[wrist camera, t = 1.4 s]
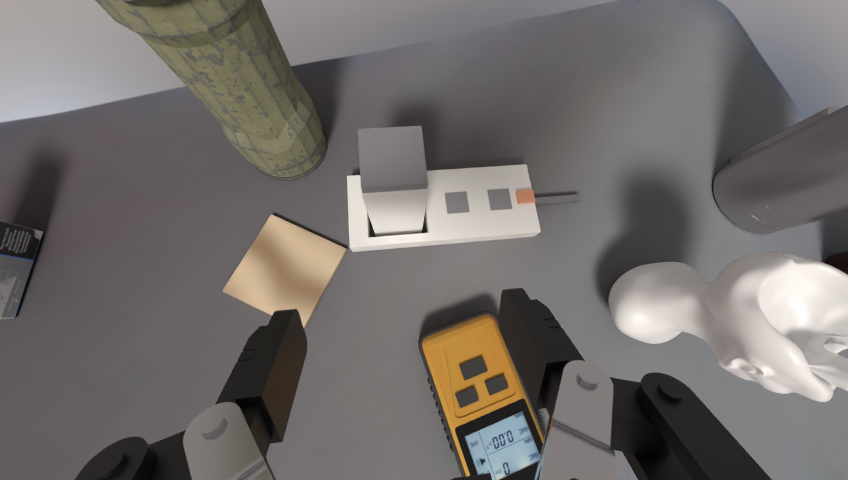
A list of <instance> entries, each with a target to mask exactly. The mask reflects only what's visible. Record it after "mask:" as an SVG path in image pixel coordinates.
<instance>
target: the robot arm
mask: <svg viewBox="0 0 848 480" xmlns="http://www.w3.org/2000/svg"><path fill="white" fill-rule="evenodd" d="M713 192H714V196H715V200H716V202H717V204H718V206H719V208H720V209H721V210H722V212H723V213H724V214H725V215H726V217H727V218H728V219H729V220H730V221H732V222H733V223H735V224H736V225H737V226H739V227H741V228H743V229H745V230H747V231H750V232H753V233H761V234H764V233H771V232H775V231H779V230H783V229H787V228H791V227H795V226H799V225H803V224H806V223H810V222H815V221H819V220H823V219H827V218H830V217H834V216H838V215H842V214H846V213H848V105H847V106H845V107H843V108H840V107H828V108H826V109H824V110H822V111H820V112H818V113H816V114H814V115H812V116H811V117H808V118H807V119H805V120H803V121H801V122H799V123H797V124H795V125H793V126H791V127H789V128H787V129H785V130H783V131H781V132H780V133H778V134H776V135H774V136H772V137H770V138H768V139H766V140H764V141H762V142H760V143H758V144H756V145H755V146H753V147H751V148H749V149H747V150H745V151H743V152H741V153H739V154H737V155H735V156H733V157H731V159H730V163H729V164H728V165H727V166H725V167H723V168H722V169H721V170H720V171H719V172H718V173H717V175H716V177H715V178H714V183H713ZM499 328H500V332H501V335H502V337H503V339H504V341H505V344H506V346H507V348H508V350H509V352H510V355H511V357H512V359H513V361H514V364H515V366H516V368H517V370H518V372H519V375H520V377H521V379H522V381H523V384H524V386H525V388H526V390H527V393H528V395H529V397H530V399H531V401H532V404H533V406H534V408H535V409H542V408H546V409H547V411H548V413H549V416H550V417H549V421H548V425H547V429H546V433H545V438H544V442H543V446H542V450H541V455H540V459H539V463H538V468H537V472H536V476H535V480H615V452H614V450H617V451H622V452H623V454H624V456H625V457H626V459H627V461H628V463H629V464H630V466H631V468H632V470H633V471H634V473H635V475H636V477H637V478H638V480H772V479H771V478H770V477H769V476H768V475H767V474H766V473H765V472H764V471H763V469H762V468H761V467H760V466H759V465H758V464H757V463H756V462H755V461H754V459H753V458H752V457H751V456H750V455H749V454H748V453H747V452H746V451H745V449H744V448H743V447H742V446H741V445H740V444H739V443H738V442H737V440H736V439H735V438H734V437H733V436H732V435H731V434H730V433H729V432H728V430H727V429H726V428H725V427H724V426H723V425H722V424H721V423H720V422H719V420H718V419H717V418H716V417H715V416H714V415H713V414H712V413H711V412H710V410H709V409H708V408H707V407H706V406H705V405H704V404H703V403H702V401H701V400H700V399H699V398H698V397H697V396H696V395H695V394H694V393H693V391H692V390H691V389H690V388H688V387H687V386H686V385H685V384H683V383H682V382H681V381H679V380H677V379H675V378H673V377H671V376H669V375H666V374H662V373H648V374H646V375H645V376H644V377H643V378H642V380H641V382H640V383H639V382H633V381H627V380H622V379H616V378H611V377H609V376H608V375H607V374H606V372H605V371H603V370H602V369H601V368H600V367H598V366H596V365H595V364H592V363H590V362H587V361H585V360H584V359H583V357H582V356H581V354H580V353H579V352H578V350H577V349H576V347H575V346H574V344H573V343H572V342H571V340H570V339H569V337H568V336H567V334H566V333H565V331H564V330H563V329H562V328H561V326H560V324H559V323H558V321H557V320H555V317H554V316H553V314H552V313H551V311H550V310H549V309H548V307H546V306H545V305H544V304H542V303H541V302H540V301H538V300H537V299H536V300H530V298H529V297H528V295H527V294H526V292H525V291H524V289H523V288H515V289H505V290H503V291H502V294H501V302H500V310H499ZM306 353H307V338H306V335H305V331H304V328H303V324H302V321H301V318H300V314H299V311H298V310H297V309H289V310H279V311H275V312H274V313H273V315H272V317H271V320H270V322H269V324H268V326H260V327H259V328H258V329H257V330H256V331H255V332H254V333H253V334H252V335H251V336H250V337H249V339H248V341H247V343H246V345H245V347H244V349H243V352H242V353H241V355H240V356H239V358H238V363H236V364H235V366H234V368H233V370H232V372H231V374H230V376H229V378H228V380H227V382H226V384H225V386H224V388H223V390H222V392H221V394H220V396H219V398H218V400H217V402H216V404H215V405H214V406H211V407H210V408H208V409H206V410H205V411H203V412H202V413H200V414H199V415H198V416H197V417H196V418H195V419H194V420H193V421H192V422H191V423H190V425H189V426H188V428H187V430H185V431H183V432H180V433H178V434H175V435H173V436H170V437H168V438H165V439H163V440H160V441H158V442H155V443H153V444H150V445H149V444H148V443H147V442H146V441H145V440H144V439H143V438H140V437H129V438H125V439H122V440H119V441H117V442H115V443H113V444H111V445H110V446H108V447H106V448H105V449H103V450H102V451H101V452H99V453H98V454H97V455H95V456H94V457H93V458H92V459H91V460H90V461H89V462H88V463H87V464H86V465H85V466H84V468H83V469H82V470H81V471H80V473H79V474H78V476H77V477H76V479H75V480H276V478H275V476H274V474H273V471H272V469H271V467H270V465H269V463H268V460H267V458H266V455H267V451H268V448H269V445H270V443H277V442H282V441H283V437H284V434H285V430H286V426H287V423H288V419H289V415H290V412H291V408H292V404H293V401H294V397H295V393H296V390H297V386H298V382H299V379H300V375H301V371H302V368H303V364H304V360H305V357H306ZM612 449H613V450H612ZM452 480H492V478H491V474H490V473H486V474H479V475H472V476H466V477H459V478H454V479H452Z"/></svg>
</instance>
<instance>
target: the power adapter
mask: <svg viewBox="0 0 848 480" xmlns="http://www.w3.org/2000/svg"><path fill="white" fill-rule="evenodd" d="M358 141H359V160H360V180H361V194H362V198H363V201H364V203H365V206H366V209H367V212H368V215H369V218H370V221H371V224H372V227H373V230H374V233H375V235H376V237H378V236H390V235H403V234H415V233H422V228H423V222H424V216H425V210H426V203H427V197H428V191H429V189H428V178H427V169H426V160H425V151H424V143H423V134H422V126H406V127H387V128H368V129H358Z"/></svg>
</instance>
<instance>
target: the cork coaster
mask: <svg viewBox="0 0 848 480" xmlns="http://www.w3.org/2000/svg"><path fill="white" fill-rule="evenodd" d="M346 251H347V249H346V248H344V247H342V246H339V245H337V244H335V243H333V242H331V241H329V240H326V239H324V238H322V237H320V236H318V235H315V234H313V233H311V232H309V231H307V230H305V229H302V228H300V227H298V226H296V225H294V224H291V223H289V222H287V221H285V220H283V219H280V218H278V217H276V216H274V215H272V214H271V216H270V217H269V219H268V221H267V222H266V224H265V225H264V227H263V228H262V230H261V231H260V233H259V235H258V236H257V238H256V239H255V241H254V242H253V244H252V246H251V247H250V249H249V250H248V252H247V253H246V255H245V256H244V258H243V260H242V261H241V263H240V264H239V266H238V267H237V269H236V270H235V272H234V274H233V275H232V277H231V278H230V280H229V281H228V283H227V285H226V286H225V288H224V289H223V291H222V292H224V293H226V294H229V295H231V296H233V297H235V298H237V299H239V300H241V301H243V302H245V303H247V304H249V305H251V306H253V307H256V308H258V309H260V310H262V311H264V312H266V313H268V314H270V315H273V313H274V312H275V311H279V310H289V309H297V310H298V311H299V314H300V318H301V321H302V324H303V328H304V329H305V327H306V325H307V323H308V321H309V319H310V318H311V316H312V314H313V312H314V310H315V308H316V307H317V305H318V303H319V301H320V299H321V297H322V295H323V294H324V292H325V290H326V288H327V286H328V284H329V283H330V281H331V279H332V277H333V275H334V273H335V271H336V270H337V268H338V266H339V264H340V262H341V260H342V259H343V257H344V255H345V253H346Z"/></svg>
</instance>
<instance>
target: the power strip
mask: <svg viewBox="0 0 848 480" xmlns="http://www.w3.org/2000/svg"><path fill="white" fill-rule="evenodd" d="M427 178H428V189H429V191H428V197H427V203H426V210H425V219H426V229H427V233H419V234H406V235H394V236H382V237H370V227H369V215H368V212H367V209H366V206H365V203H364V201H363V198H362V194H361V180H360V175H355V176H347V186H348V213H349V239H350V249H351V250H352V251H353V252H357V251H369V250H381V249H393V248H404V247H416V246H428V245H440V244H452V243H463V242H475V241H487V240H499V239H511V238H522V237H534V236H535V235H537V234H538V233H540V232H541V230H540V225H539V221H538V216H537V211H536V207H535V206H536V205H549V204H563V203H576V202H579V201H580V200H581V199H580V195H579V194H577V195H564V196H550V197H537V198H535V197H534V192H533V189H532V188H531V183H530V178H529V174H528V169H527V164H524V165H509V166H493V167H478V168H462V169H447V170H432V171H427Z"/></svg>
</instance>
